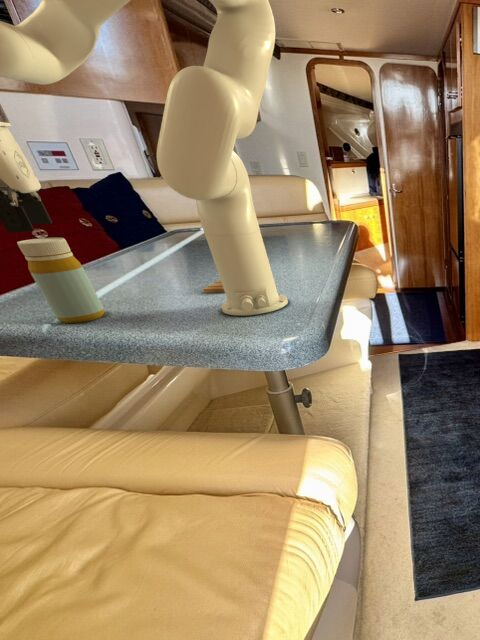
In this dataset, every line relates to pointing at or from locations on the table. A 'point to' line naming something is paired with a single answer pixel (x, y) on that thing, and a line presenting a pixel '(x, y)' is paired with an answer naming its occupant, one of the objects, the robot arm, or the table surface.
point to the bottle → (61, 280)
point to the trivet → (214, 288)
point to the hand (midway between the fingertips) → (31, 227)
